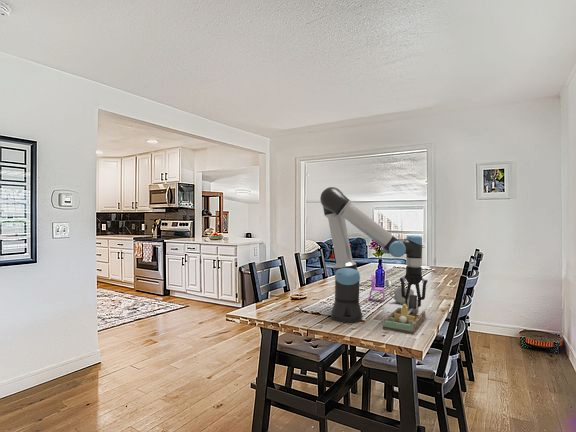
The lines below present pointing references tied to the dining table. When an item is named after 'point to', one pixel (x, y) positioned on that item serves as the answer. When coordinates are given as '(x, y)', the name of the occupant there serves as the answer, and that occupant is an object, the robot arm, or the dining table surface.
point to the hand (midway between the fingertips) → (412, 312)
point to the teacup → (400, 295)
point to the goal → (398, 324)
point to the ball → (402, 319)
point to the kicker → (405, 310)
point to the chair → (376, 288)
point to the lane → (416, 323)
